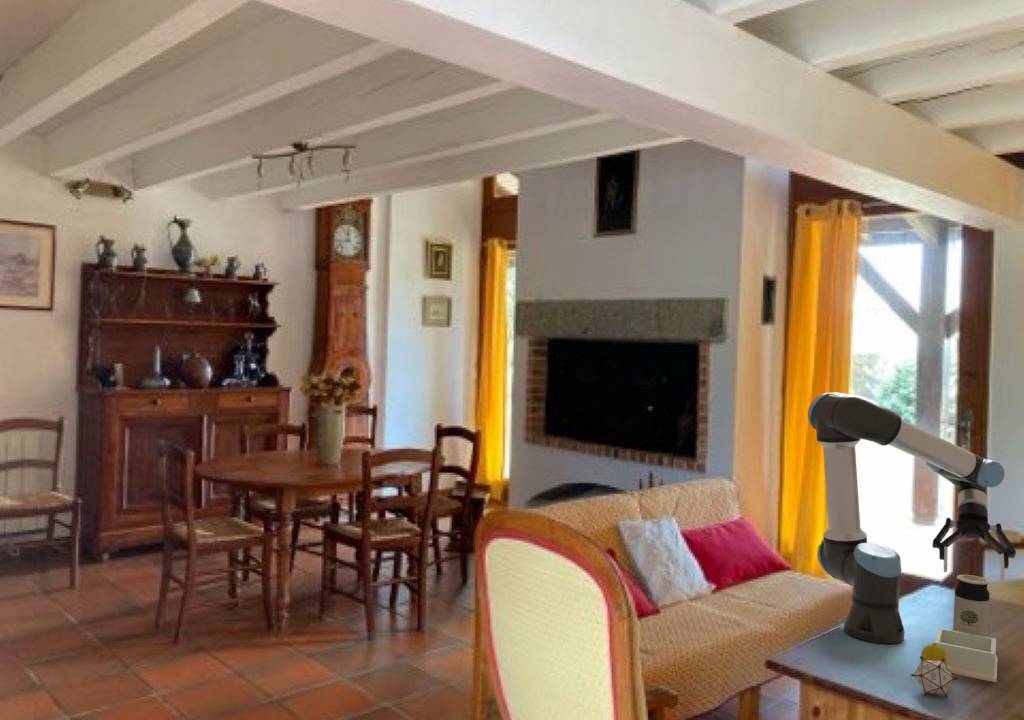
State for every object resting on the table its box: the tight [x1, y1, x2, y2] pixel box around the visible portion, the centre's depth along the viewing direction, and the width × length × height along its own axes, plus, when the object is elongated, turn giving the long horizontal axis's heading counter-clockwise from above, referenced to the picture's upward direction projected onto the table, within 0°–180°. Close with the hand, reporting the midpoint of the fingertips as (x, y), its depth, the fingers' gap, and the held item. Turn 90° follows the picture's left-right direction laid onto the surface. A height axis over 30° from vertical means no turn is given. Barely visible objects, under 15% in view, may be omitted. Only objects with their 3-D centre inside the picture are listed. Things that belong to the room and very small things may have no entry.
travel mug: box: [952, 574, 991, 637], centre depth 221 cm, size 8×8×18 cm
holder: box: [934, 627, 998, 683], centre depth 209 cm, size 18×14×6 cm
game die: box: [910, 655, 959, 699], centre depth 189 cm, size 9×8×10 cm
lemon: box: [920, 642, 947, 665], centre depth 200 cm, size 6×6×8 cm
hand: (973, 573), depth 229 cm, fingers open, 13 cm apart
